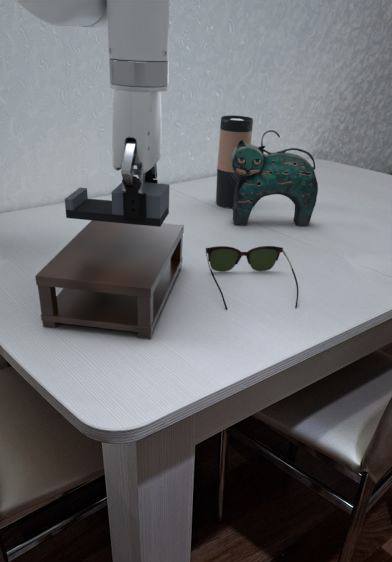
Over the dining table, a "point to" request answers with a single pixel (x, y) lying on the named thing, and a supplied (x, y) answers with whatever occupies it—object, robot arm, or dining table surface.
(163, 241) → the coffee table
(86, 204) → the dark grey stepped block
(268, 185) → the ceramic cat
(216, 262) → the sunglasses
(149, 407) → the dining table surface
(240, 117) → the travel mug
